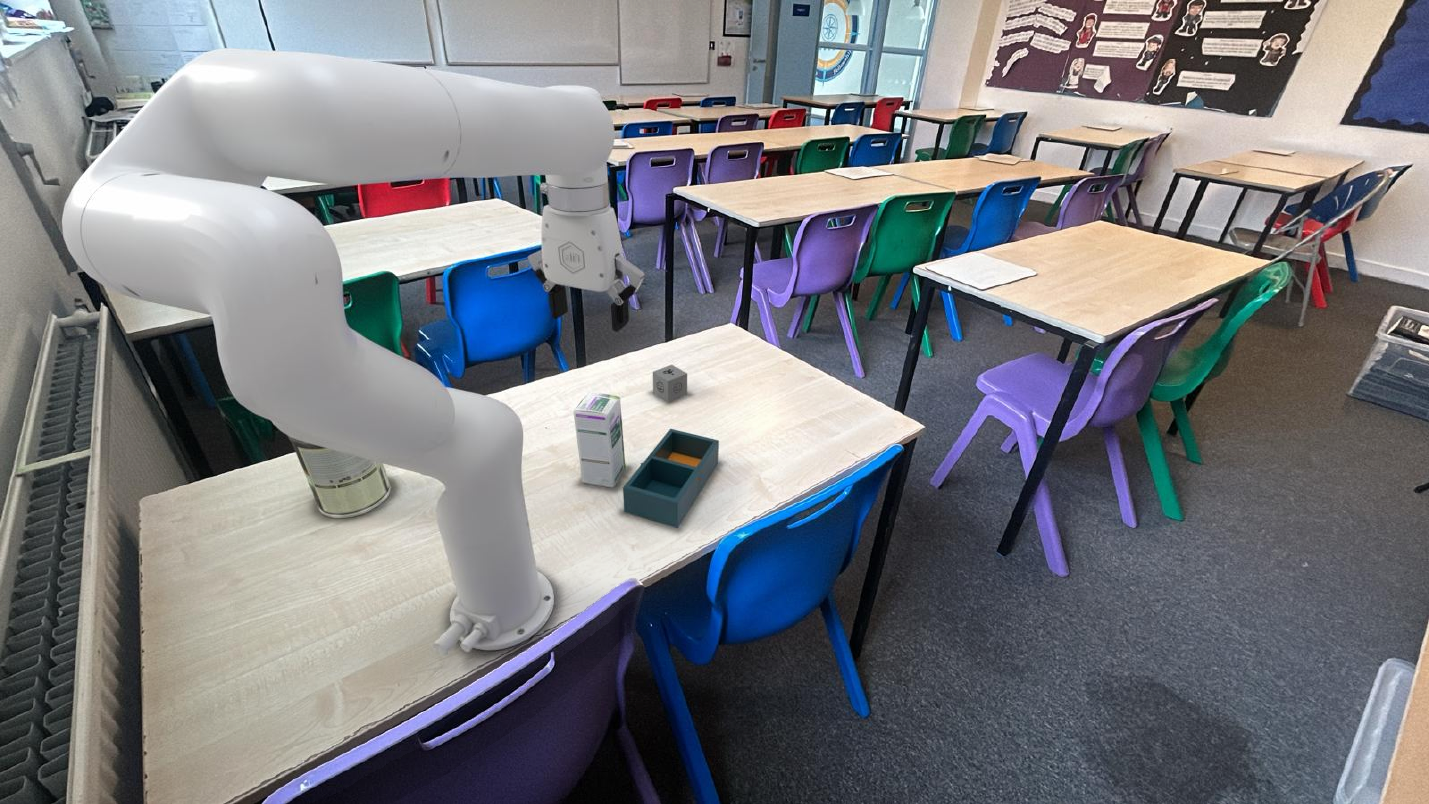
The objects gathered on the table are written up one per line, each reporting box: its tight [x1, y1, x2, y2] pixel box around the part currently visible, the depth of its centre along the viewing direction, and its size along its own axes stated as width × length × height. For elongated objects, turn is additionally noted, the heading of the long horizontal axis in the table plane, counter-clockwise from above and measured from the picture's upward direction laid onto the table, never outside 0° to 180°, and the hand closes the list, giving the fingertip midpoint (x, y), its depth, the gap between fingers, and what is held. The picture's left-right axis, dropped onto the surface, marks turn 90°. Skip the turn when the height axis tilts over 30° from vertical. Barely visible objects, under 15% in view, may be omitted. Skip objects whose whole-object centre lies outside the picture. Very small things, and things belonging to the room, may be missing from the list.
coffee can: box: [287, 435, 392, 519], centre depth 92 cm, size 10×10×14 cm
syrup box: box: [573, 392, 626, 489], centre depth 98 cm, size 6×6×14 cm
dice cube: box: [652, 364, 688, 404], centre depth 124 cm, size 5×5×5 cm
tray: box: [622, 428, 720, 529], centre depth 99 cm, size 17×9×5 cm, turn 159°
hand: (589, 321), depth 85 cm, fingers open, 9 cm apart
